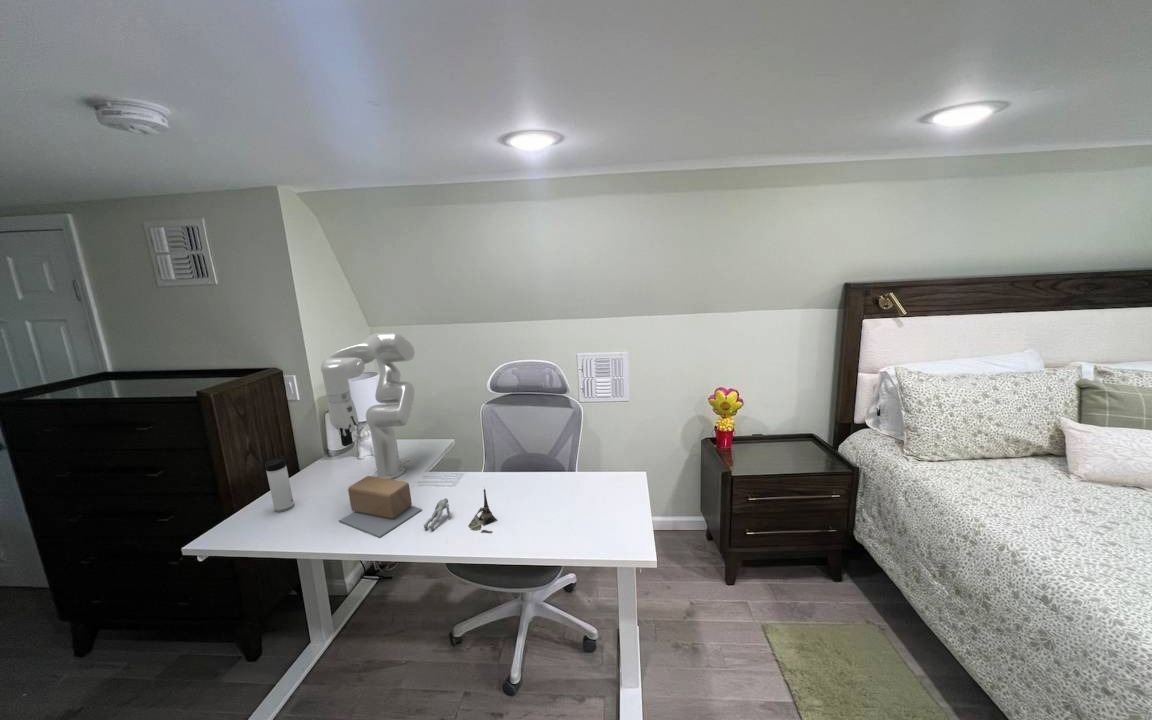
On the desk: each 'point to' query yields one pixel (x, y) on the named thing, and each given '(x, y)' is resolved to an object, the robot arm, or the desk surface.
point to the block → (380, 497)
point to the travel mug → (279, 484)
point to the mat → (378, 521)
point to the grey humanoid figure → (438, 513)
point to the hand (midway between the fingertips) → (347, 444)
